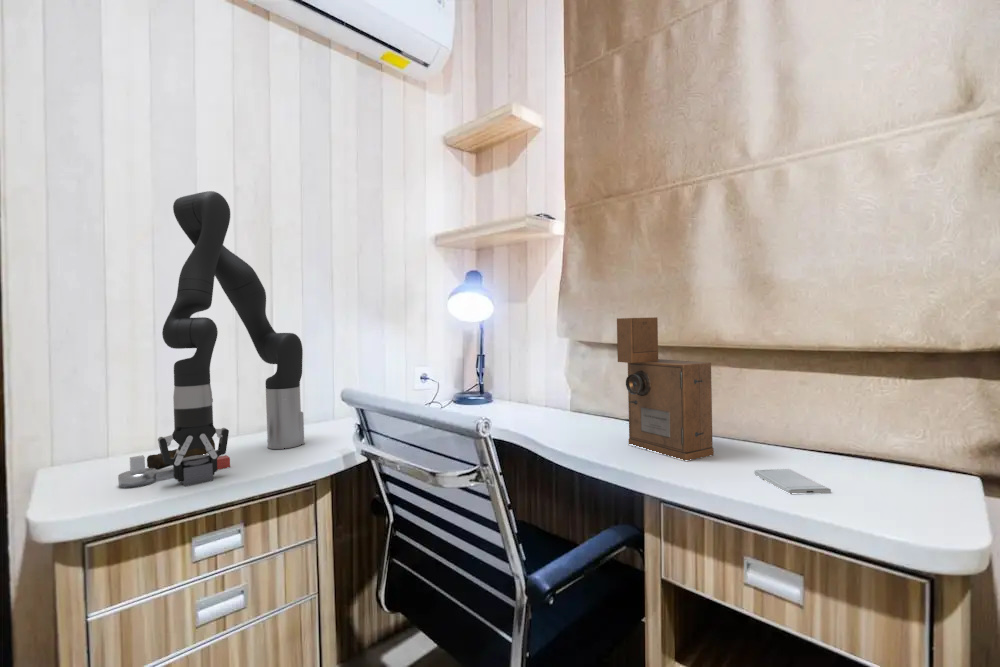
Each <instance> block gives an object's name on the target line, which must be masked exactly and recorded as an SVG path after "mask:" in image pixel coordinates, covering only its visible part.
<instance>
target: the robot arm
mask: <svg viewBox="0 0 1000 667" xmlns="http://www.w3.org/2000/svg"><path fill="white" fill-rule="evenodd" d="M172 210H173V214H174V217H175V219H176V222H177V223H178V225H179V226H180V228H181V229H182V232H183V233H184V234H185V235H186V236H187V238H188V239H189V240H190V242H191V243H192V244H193V246H194V247H193V249H192V251H191V252H190V254H189V256H188V258H187V259H186V260H185V261H184V263H183V266H182V268H181V270H180V273H179V277H178V285H177V291H176V297H175V301H174V303H173V305H172V307H171V310H170V312H169V314H168V316H167V317H166V320H165V322H164V324H163V326H162V333H161V335H162V338H163V341H164V343H165V344H166V345H167V347H169V348H170V349H175V350H177V349H178V350H179V349H180V350H182V349H196V351H195V352H194V353H193V354H194V355H192V357H189V358H183V359H180V360H177V361H175V362H174V364H173V386H174V387H173V422H174V424H173V425H174V430H173V432H172V434H170V435H167V436H164V437H163V436H159V437H158V439H157V442H158V446H159V450H160V453H161V455H162V459H163V462H164V463H165V464H166V465H170V466H172V467H173V474H174V478H173V479H174V480H175V481H177V482H178V483H179V482H180V483H181V481H182V465H181V461H182V459H183V457H184V456H185V454H186V452H187V450H193V449H195V448H199V449H200V448H205V450H206V451H207V453H208V454H207V455H210V462H212V467H213V476H215V474H216V473H217V471H218V470H217V458H218V457H219V456H225V455H226V453H227V448H228V441H229V440H228V439H229V432H230V430H229V429H227V428H226V427H222V428H215V426H214V415H213V414H214V411H213V402H214V399H213V391H212V386H211V385H212V384H211V362H212V357H213V352H214V349H215V346H216V342H217V339H218V333H219V332H218V331H219V330H218V327H217V324H216V323H215V322H214V320H213V319H211V318H209V317H203V316H202V317H201V316H200V317H199V316H198V317H192V316H193V315H194V314H197V313H200V312H204V311H207V310H208V309H210V308H211V306H212V302H213V296H214V295H213V294H214V285H215V284H214V283H215V279H216V280H217V281H218V283H219V285H220V287H221V289H222V290H223V293H224V295H226V297H227V299H228V300H229V302H230V303H231V305H232V306H233V308H234V310H235V311H236V313H237V315H238V316H239V318H240V320H241V322H242V324H243V325H244V327H245V329H246V331H247V332H248V333H247V334H248V336H249V337H250V339H251V342H252V344H253V346H254V348H255V351H256V352H257V354H258V356H259V357H260V359H261V361H263V362H264V363H266V364H270V365H276V370H275V373H274V374H273V375H272V376H268V378H266V379H265V407H266V408H265V409H266V431H267V433H266V434H267V435H266V436H267V437H266V438H267V439H266V442H267V448H268V449H272V450H282V449H283V450H285V449H290V448H296V447H298V446H301V444H302V445H304V444H305V426H304V425H305V422H304V421H305V420H304V412H303V411H301V409H302V407H301V379H302V377H303V376H302V375H303V357H304V356H303V355H304V354H303V343H302V341H301V337H299V336H298V335H297V334H296V333H294V332H276V331H275V330H274V328H273V327H272V325H271V323H270V322H269V319H268V317H267V313H266V312H267V311H266V308H267V306H266V305H267V293H266V289H265V287H264V285H263V283H262V281H261V280H260V278H259V276H258V273H257V272H256V271H255V269H253V267H252V266H251V265H250V264H249V263H248V262H246V261H245V260H243V258H241V257H239V256H238V255H236V254H235V253H233V251H230V249H228V248H227V247H226V246H225V245H224V242H225V238H226V236H227V232H228V228H229V225H230V222H231V208H230V204H229V203H228V202H227V199H226V198H225V197H224V196H223V195H222V194H221V193H219V192H217V191H212V190H211V191H209V190H208V191H201V192H197V193H194V194H188V195H183V196H180V197H178V198H177V199H175V200H174V202H173V206H172ZM215 434H216V437H218V438H219V439H218V440H219V441H218V444H217V445H218V447H217V449H215V450H214V448H213V447H212V445H211V443H210V440H211V439H212V438H213V437H214V436H215ZM172 441H175V443H177V445H178V446H177V448H176V449H177V451H176V454H175V456H174V458H170V455H169V447H170V446H171V444H172ZM284 448H285V449H284ZM166 465H165V466H166Z"/></svg>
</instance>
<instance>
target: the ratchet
mask: <svg viewBox="0 0 1000 667" xmlns="http://www.w3.org/2000/svg"><path fill="white" fill-rule="evenodd" d="M145 458H146V457H145V456H144V454H143V455H137V456H130V457H129V470H128V471H127V470H126V471H123V472H122V473H120V474H118V475H117V476H118V488H119V489H125V490H126V489H136V488H137V489H138V488H141V487H145V486H149V485H152V484H154V483H156V482H158V481H165V480H169V479H175V478H174V474H173V466H172V467H167V468H160V469H155V468H148V467H146V463H145V462H146V461H145V460H146V459H145ZM227 467H229V468H231V457H230V456H229V455H227V454H224V455H220V456H219V457H218V458H217V471H218V469H219V470H222V469H223V468H224V469H228V468H227ZM224 469H223V470H224Z"/></svg>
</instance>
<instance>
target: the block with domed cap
mask: <svg viewBox="0 0 1000 667" xmlns="http://www.w3.org/2000/svg"><path fill="white" fill-rule="evenodd" d="M181 465H182V481H181V482H180V483H181V484H182V486H183V487H188V485H189V486H193V485H198V484H202V482H203V483H208V482H212V480H213V481H214V475H213V467H212V462H210V455H209V454H205V455H195V456H190V457H186V458H183V459H182V461H181Z"/></svg>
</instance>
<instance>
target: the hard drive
mask: <svg viewBox="0 0 1000 667" xmlns="http://www.w3.org/2000/svg"><path fill="white" fill-rule="evenodd" d="M753 474H755V475H754V476H755V477H757V476H759V477H760V478H759V477H758V478H759V479H761V478H762V479H761V480H763V479H764V480H766V481H767V482H766V481H765V482H766V483H768V482H769V483H768V484H770V483H771V484H773V485H774V486H773V485H772V486H773V487H775V486H776V487H775V488H777V487H778V488H777V489H779V488H780V489H782V490H784V491H786V492H788V493H790V494H791V495H793V494H792V493H821V494H831V493H832V492H831V491H832V489H831V488H829V487H827V486H825V485H823V484H821V483H819V482H817V481H815V480H813V479H811V478H808V477H806V476H805V475H803V474H800V473H799V472H797V471H794V470H792V469H790V468H780V469H779V468H777V469H776V468H775V469H757V470H754V471H753ZM764 480H763V481H764ZM780 489H779V490H780ZM782 490H781V491H782ZM784 491H783V492H784ZM786 492H785V493H786ZM788 493H787V494H788Z"/></svg>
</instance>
